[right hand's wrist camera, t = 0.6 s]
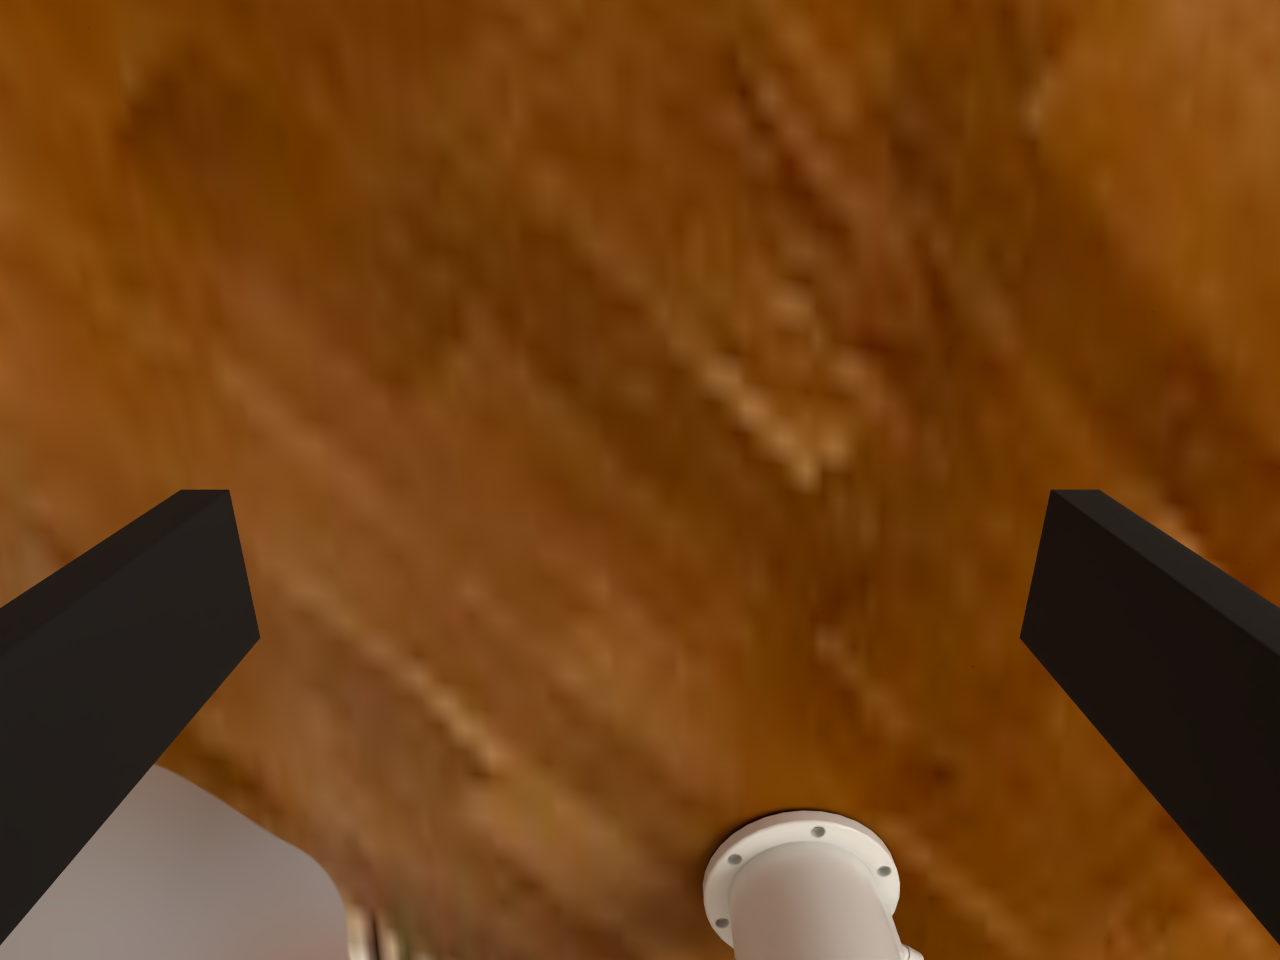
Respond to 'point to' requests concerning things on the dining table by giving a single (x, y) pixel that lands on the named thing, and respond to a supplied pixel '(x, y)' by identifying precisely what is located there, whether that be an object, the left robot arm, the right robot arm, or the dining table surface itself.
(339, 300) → the dining table surface
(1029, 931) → the dining table surface
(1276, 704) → the right robot arm
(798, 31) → the dining table surface
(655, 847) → the dining table surface
